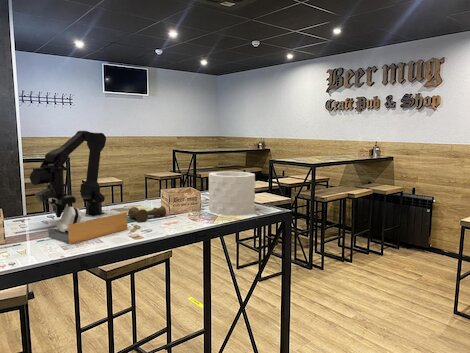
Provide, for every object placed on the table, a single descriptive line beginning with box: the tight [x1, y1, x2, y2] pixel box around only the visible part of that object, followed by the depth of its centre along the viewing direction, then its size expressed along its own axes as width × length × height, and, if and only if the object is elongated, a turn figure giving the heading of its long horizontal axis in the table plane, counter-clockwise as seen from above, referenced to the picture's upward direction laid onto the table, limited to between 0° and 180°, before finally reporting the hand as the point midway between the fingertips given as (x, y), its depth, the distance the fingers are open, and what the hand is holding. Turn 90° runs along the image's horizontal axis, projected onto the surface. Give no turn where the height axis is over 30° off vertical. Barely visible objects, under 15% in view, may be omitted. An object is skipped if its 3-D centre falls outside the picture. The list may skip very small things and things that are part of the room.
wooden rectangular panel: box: [48, 211, 128, 245], centre depth 144 cm, size 25×15×7 cm, turn 145°
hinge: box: [55, 205, 82, 233], centre depth 150 cm, size 17×5×10 cm, turn 35°
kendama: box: [127, 205, 167, 223], centre depth 167 cm, size 6×10×20 cm
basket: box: [208, 170, 256, 216], centre depth 186 cm, size 25×24×19 cm
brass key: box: [129, 225, 141, 233], centre depth 149 cm, size 7×3×1 cm, turn 175°
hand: (58, 217), depth 156 cm, fingers closed
